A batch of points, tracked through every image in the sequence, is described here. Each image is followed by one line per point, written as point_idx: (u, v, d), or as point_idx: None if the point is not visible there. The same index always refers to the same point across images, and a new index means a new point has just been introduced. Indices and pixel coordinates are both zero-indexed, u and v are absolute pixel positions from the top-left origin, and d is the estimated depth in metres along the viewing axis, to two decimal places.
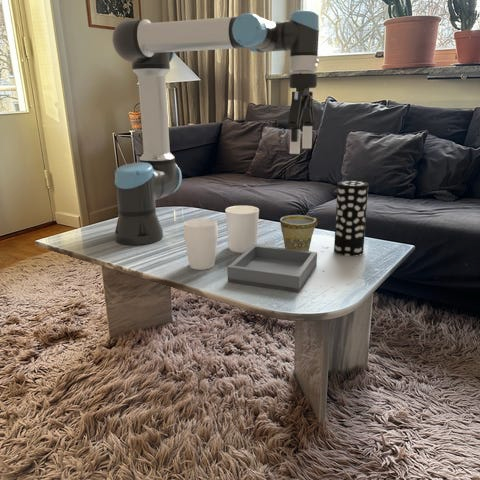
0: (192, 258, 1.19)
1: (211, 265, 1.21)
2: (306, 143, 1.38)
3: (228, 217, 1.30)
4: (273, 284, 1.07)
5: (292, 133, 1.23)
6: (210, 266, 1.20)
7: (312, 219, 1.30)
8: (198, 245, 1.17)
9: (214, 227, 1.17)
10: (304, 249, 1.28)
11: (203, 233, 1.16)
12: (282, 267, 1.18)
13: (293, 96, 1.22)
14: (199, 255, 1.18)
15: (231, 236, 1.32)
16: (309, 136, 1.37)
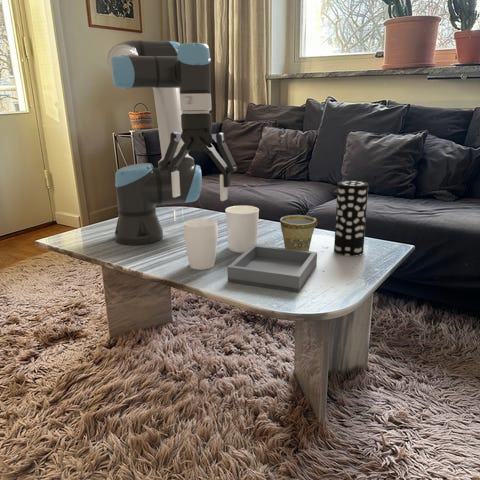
0: (192, 258, 1.19)
1: (211, 265, 1.21)
2: None
3: (228, 217, 1.30)
4: (273, 284, 1.07)
5: None
6: (210, 266, 1.20)
7: (312, 219, 1.30)
8: (198, 245, 1.17)
9: (214, 227, 1.17)
10: (304, 249, 1.28)
11: (203, 233, 1.16)
12: (282, 267, 1.18)
13: None
14: (199, 255, 1.18)
15: (231, 236, 1.32)
16: None
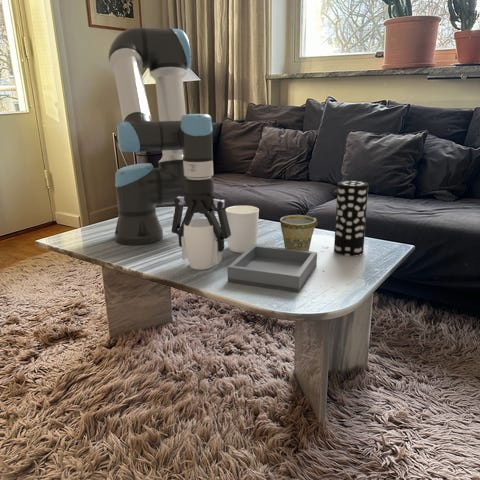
0: (191, 258, 1.19)
1: (211, 265, 1.21)
2: None
3: (228, 217, 1.30)
4: (273, 284, 1.07)
5: None
6: (210, 266, 1.20)
7: (312, 219, 1.30)
8: (198, 245, 1.17)
9: None
10: (304, 249, 1.28)
11: (203, 233, 1.16)
12: (282, 267, 1.18)
13: None
14: (199, 255, 1.18)
15: (231, 236, 1.32)
16: None
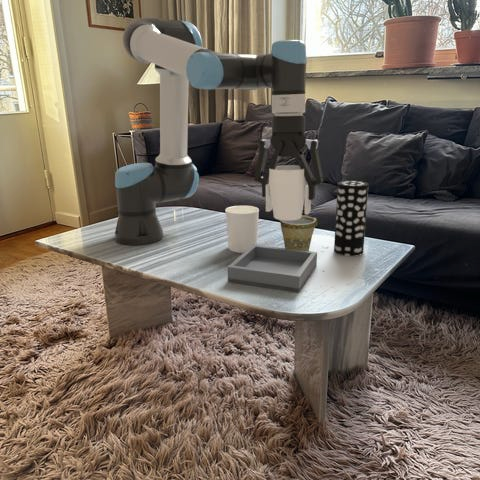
0: (278, 207, 1.06)
1: (299, 216, 1.08)
2: None
3: (228, 217, 1.30)
4: (273, 284, 1.07)
5: None
6: (298, 217, 1.07)
7: (312, 219, 1.30)
8: (287, 191, 1.04)
9: None
10: (304, 249, 1.28)
11: (294, 177, 1.03)
12: (282, 267, 1.18)
13: None
14: (287, 203, 1.05)
15: (231, 236, 1.32)
16: None
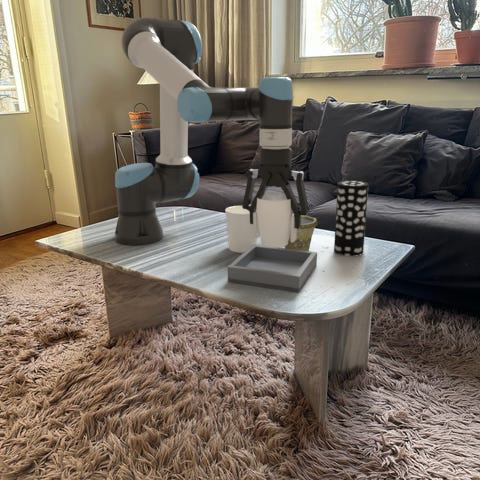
0: (265, 235, 1.10)
1: (286, 243, 1.12)
2: None
3: (228, 217, 1.30)
4: (273, 284, 1.07)
5: None
6: (285, 244, 1.11)
7: (312, 219, 1.30)
8: (274, 220, 1.08)
9: None
10: (304, 249, 1.28)
11: (280, 207, 1.07)
12: (282, 267, 1.18)
13: None
14: (274, 231, 1.09)
15: (231, 236, 1.32)
16: None
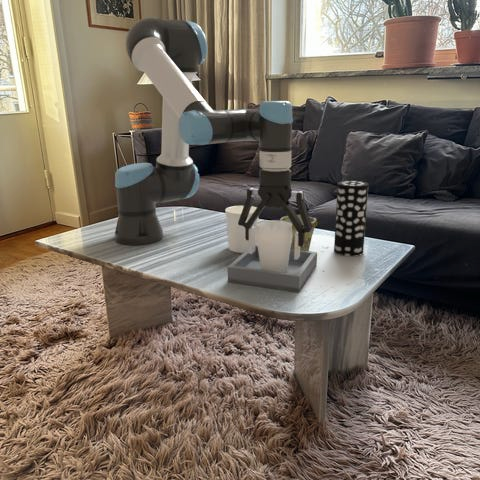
0: (265, 262, 1.12)
1: (285, 270, 1.14)
2: None
3: (228, 217, 1.30)
4: (273, 284, 1.07)
5: None
6: (284, 271, 1.14)
7: (312, 219, 1.30)
8: (274, 248, 1.10)
9: (290, 229, 1.11)
10: (304, 249, 1.28)
11: (279, 236, 1.09)
12: None
13: None
14: (274, 259, 1.11)
15: (231, 236, 1.32)
16: None
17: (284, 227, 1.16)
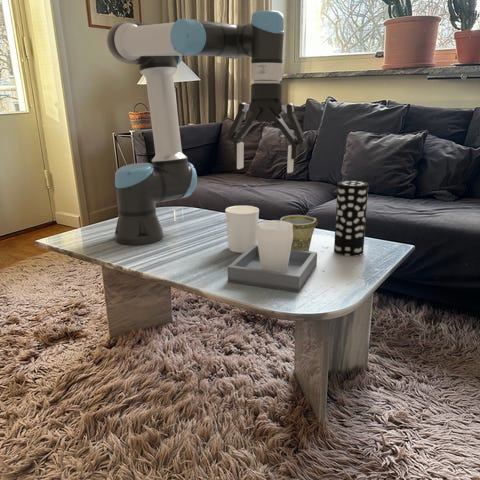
0: (265, 263, 1.12)
1: (285, 270, 1.14)
2: None
3: (228, 217, 1.30)
4: (273, 284, 1.07)
5: None
6: (284, 271, 1.14)
7: (312, 219, 1.30)
8: (274, 249, 1.10)
9: (291, 230, 1.11)
10: (304, 249, 1.28)
11: (280, 236, 1.09)
12: None
13: None
14: (274, 259, 1.11)
15: (231, 236, 1.32)
16: None
17: (285, 227, 1.16)
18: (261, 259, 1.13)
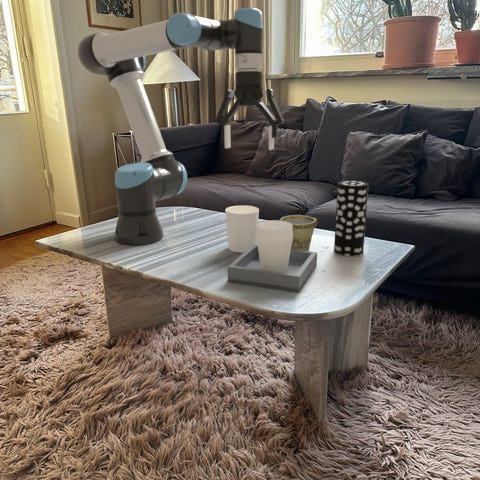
0: (265, 263, 1.12)
1: (285, 270, 1.14)
2: None
3: (228, 217, 1.30)
4: (273, 284, 1.07)
5: None
6: (284, 271, 1.14)
7: (312, 219, 1.30)
8: (274, 249, 1.10)
9: (290, 230, 1.11)
10: (304, 249, 1.28)
11: (280, 236, 1.09)
12: None
13: None
14: (274, 259, 1.11)
15: (231, 236, 1.32)
16: None
17: (284, 227, 1.16)
18: (261, 259, 1.13)
